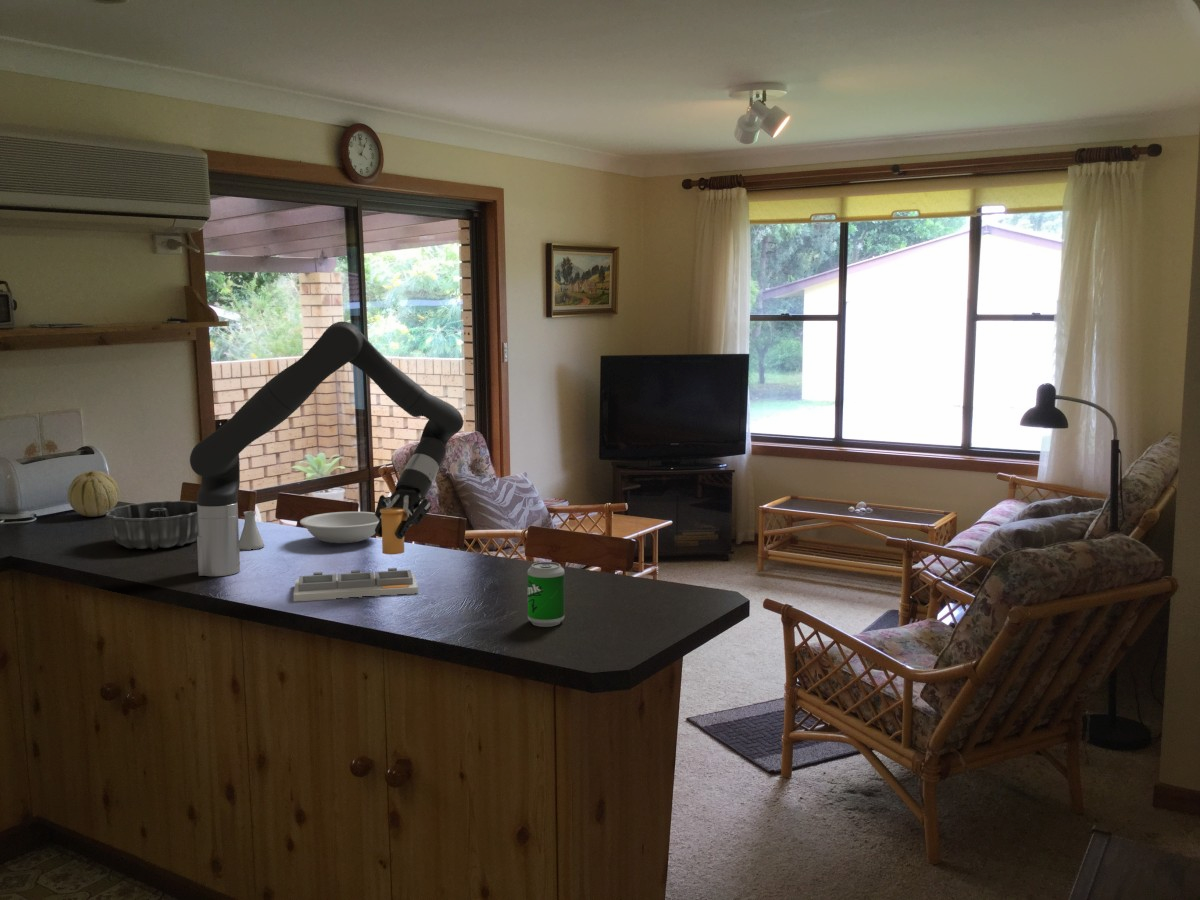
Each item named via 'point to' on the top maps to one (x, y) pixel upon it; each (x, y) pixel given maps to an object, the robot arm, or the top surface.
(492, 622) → the top surface
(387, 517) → the cap
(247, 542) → the flask
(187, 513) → the bundt pan
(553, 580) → the soda can
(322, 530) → the soup bowl
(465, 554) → the top surface
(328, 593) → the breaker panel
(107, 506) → the cantaloupe
